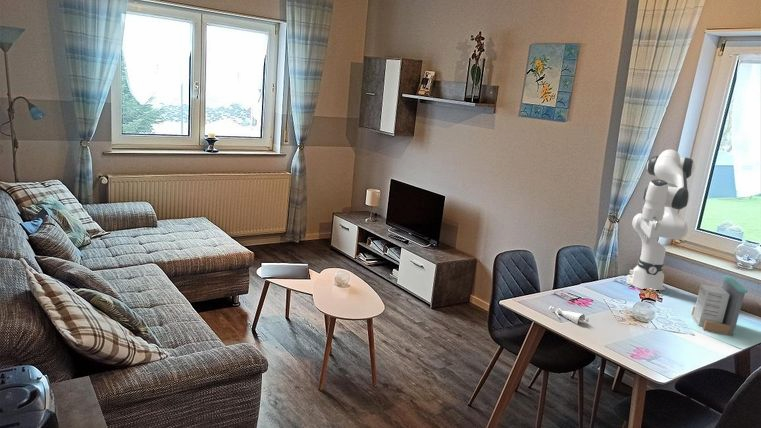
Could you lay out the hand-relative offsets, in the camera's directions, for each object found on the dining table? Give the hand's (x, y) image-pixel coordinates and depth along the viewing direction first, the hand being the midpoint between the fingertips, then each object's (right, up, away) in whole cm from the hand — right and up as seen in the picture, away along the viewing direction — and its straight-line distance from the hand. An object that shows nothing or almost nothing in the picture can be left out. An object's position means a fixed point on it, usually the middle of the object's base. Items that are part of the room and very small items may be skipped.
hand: (646, 243), depth 252 cm
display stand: (+24, -36, -10) cm, 45 cm away
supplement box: (+22, -36, -10) cm, 43 cm away
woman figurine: (-44, -32, -19) cm, 58 cm away
